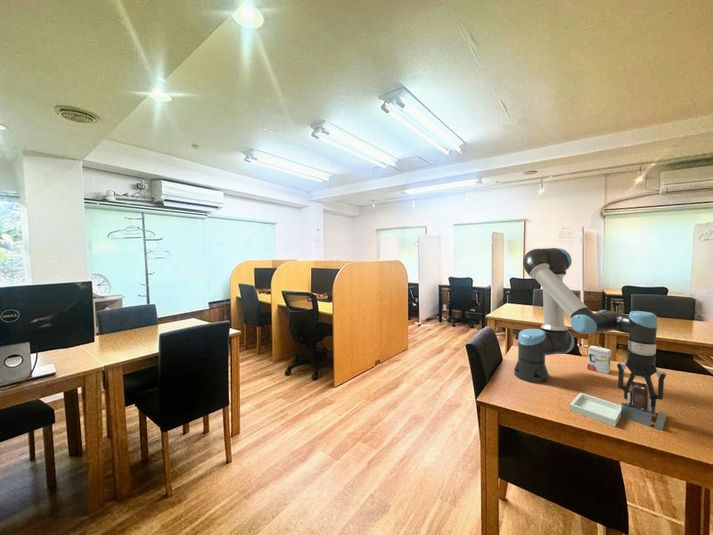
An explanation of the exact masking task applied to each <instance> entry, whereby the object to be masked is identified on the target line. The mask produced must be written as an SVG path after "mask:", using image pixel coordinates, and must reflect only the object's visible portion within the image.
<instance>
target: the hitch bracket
mask: <svg viewBox="0 0 713 535" xmlns="http://www.w3.org/2000/svg"><path fill="white" fill-rule="evenodd" d="M631 397H632V396H631ZM620 405H621V418H623V419H626V420H629V421H633V422H635V423H639V424H641V425H643V426H644V425H645V426H647V427H651V426H652V418H653V417H652V416H655V415H656V414H657V413H656V411H657V410H656V409H657V405H656V406H655V407H651V411H649V410H647V409H646V408H643V407H641V408H639V407H635V406H632V404H630V403H627V402H622V403H621V404H620ZM667 417H668V413H665V412H663V411H660V410H659V411H658V414H657V417H656V420H655V422H654V429H655V430H659V431H663V430H664V426H665V424H666V420H667Z"/></svg>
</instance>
